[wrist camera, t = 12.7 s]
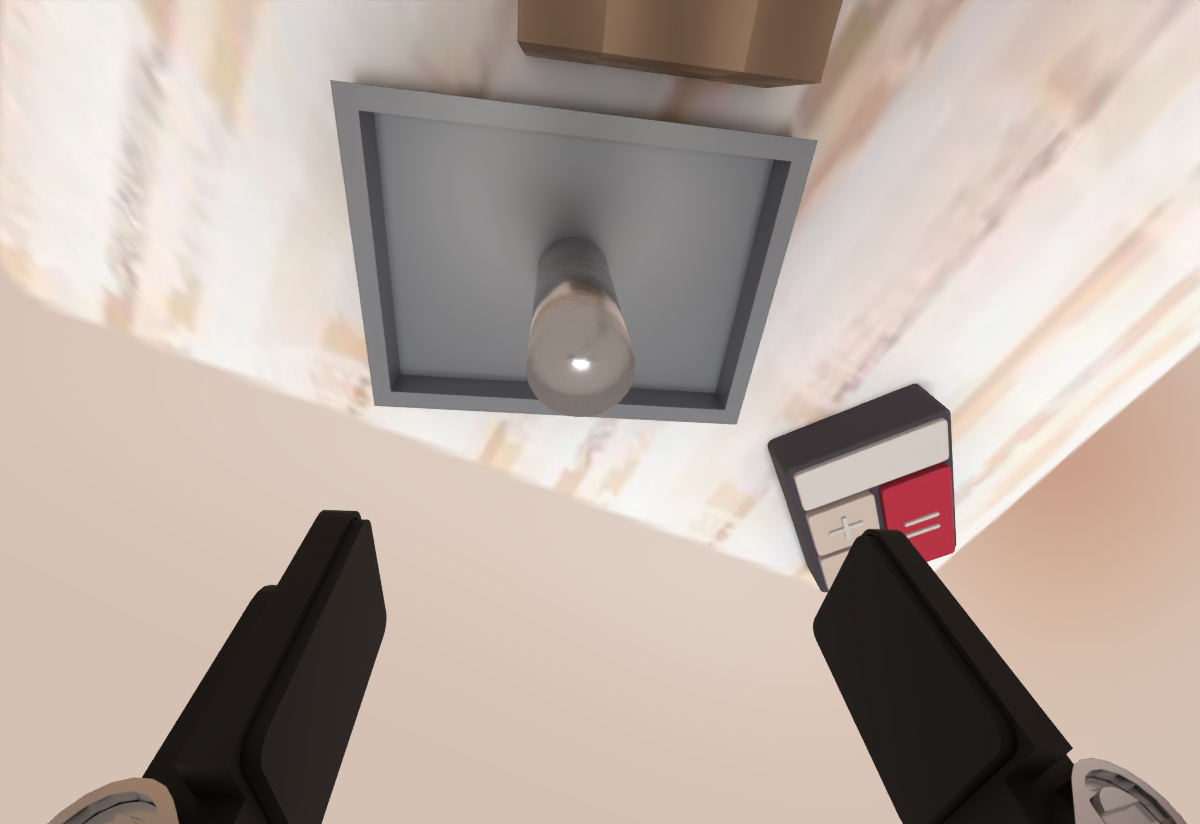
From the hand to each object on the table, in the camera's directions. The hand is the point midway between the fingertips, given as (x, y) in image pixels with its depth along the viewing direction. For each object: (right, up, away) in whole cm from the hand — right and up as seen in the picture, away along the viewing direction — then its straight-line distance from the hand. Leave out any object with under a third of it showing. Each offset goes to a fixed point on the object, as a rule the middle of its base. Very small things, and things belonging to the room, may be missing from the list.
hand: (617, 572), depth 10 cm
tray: (-2, +11, +20) cm, 23 cm away
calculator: (+20, -2, +30) cm, 36 cm away
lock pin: (-2, +11, +19) cm, 22 cm away
